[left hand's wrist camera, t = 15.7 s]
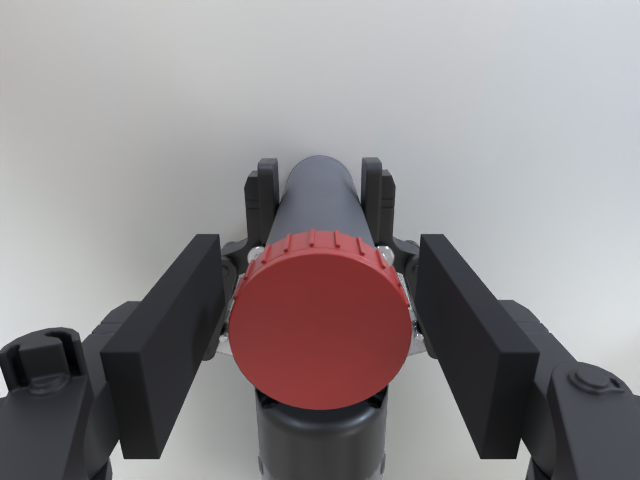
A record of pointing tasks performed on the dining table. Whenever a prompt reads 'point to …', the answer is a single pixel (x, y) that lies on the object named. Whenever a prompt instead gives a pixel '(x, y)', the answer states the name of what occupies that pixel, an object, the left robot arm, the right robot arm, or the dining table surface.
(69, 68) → the dining table surface
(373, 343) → the lid
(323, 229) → the jar
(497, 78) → the dining table surface
